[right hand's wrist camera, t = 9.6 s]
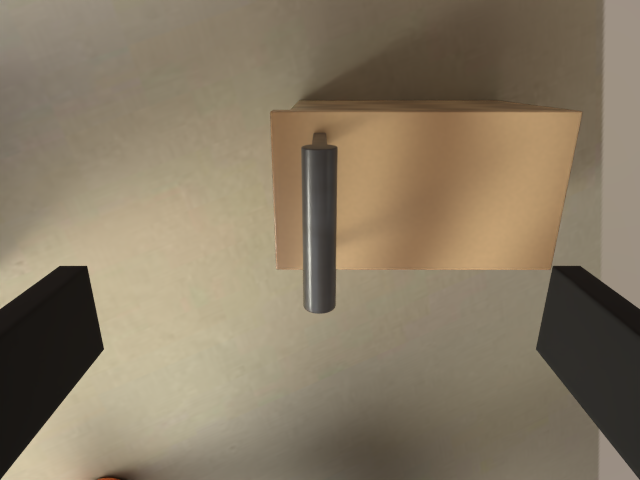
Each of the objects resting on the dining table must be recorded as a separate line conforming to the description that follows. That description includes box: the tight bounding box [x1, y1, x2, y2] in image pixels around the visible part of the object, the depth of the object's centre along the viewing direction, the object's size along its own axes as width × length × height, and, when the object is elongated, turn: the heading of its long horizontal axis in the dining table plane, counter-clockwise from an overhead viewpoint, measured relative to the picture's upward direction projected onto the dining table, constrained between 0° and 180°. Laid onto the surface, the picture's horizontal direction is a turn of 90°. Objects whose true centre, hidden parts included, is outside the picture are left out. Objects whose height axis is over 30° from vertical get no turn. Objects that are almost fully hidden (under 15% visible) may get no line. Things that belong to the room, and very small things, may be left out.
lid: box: [270, 110, 582, 313], centre depth 22 cm, size 17×9×8 cm, turn 90°
